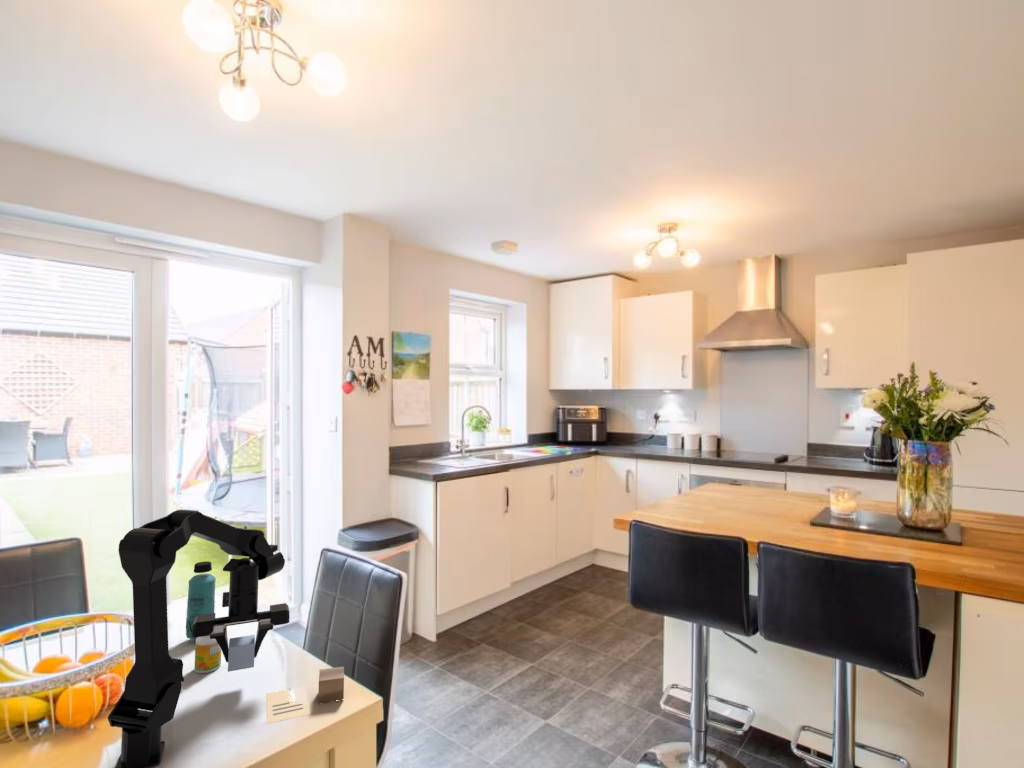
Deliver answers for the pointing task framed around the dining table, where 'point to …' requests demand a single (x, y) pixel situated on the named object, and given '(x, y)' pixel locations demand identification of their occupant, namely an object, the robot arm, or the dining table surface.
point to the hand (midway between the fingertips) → (241, 659)
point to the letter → (283, 707)
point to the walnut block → (331, 685)
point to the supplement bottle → (207, 655)
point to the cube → (241, 653)
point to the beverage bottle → (200, 595)
